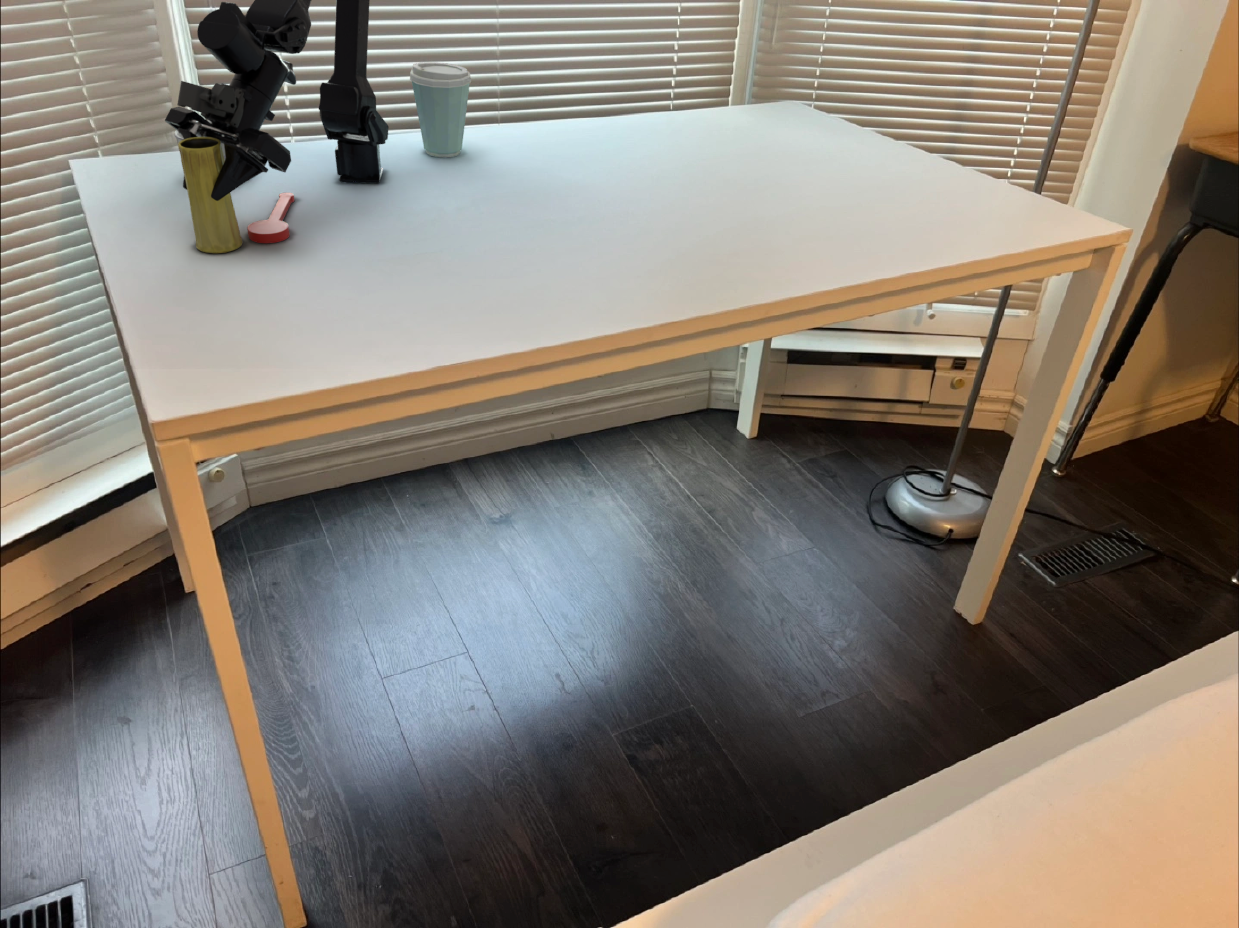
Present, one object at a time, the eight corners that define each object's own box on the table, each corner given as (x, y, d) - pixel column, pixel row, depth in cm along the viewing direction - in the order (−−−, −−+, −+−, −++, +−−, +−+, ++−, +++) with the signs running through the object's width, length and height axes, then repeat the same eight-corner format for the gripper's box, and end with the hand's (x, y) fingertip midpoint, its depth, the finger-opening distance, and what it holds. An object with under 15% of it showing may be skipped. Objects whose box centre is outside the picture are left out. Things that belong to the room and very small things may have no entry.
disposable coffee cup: (443, 139, 178) (439, 54, 169) (486, 152, 173) (484, 65, 165) (401, 152, 171) (395, 63, 162) (445, 166, 166) (440, 75, 157)
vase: (252, 242, 135) (234, 140, 126) (220, 257, 130) (199, 153, 122) (219, 233, 136) (199, 132, 128) (186, 247, 132) (163, 144, 124)
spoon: (306, 198, 150) (305, 189, 149) (286, 243, 135) (284, 234, 134) (270, 198, 149) (268, 189, 148) (244, 243, 134) (243, 233, 134)
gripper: (161, 42, 126) (106, 146, 124) (259, 68, 118) (201, 179, 117) (222, 93, 136) (172, 189, 134) (315, 119, 128) (263, 222, 127)
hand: (199, 194), depth 128 cm, fingers closed on vase, 5 cm apart
